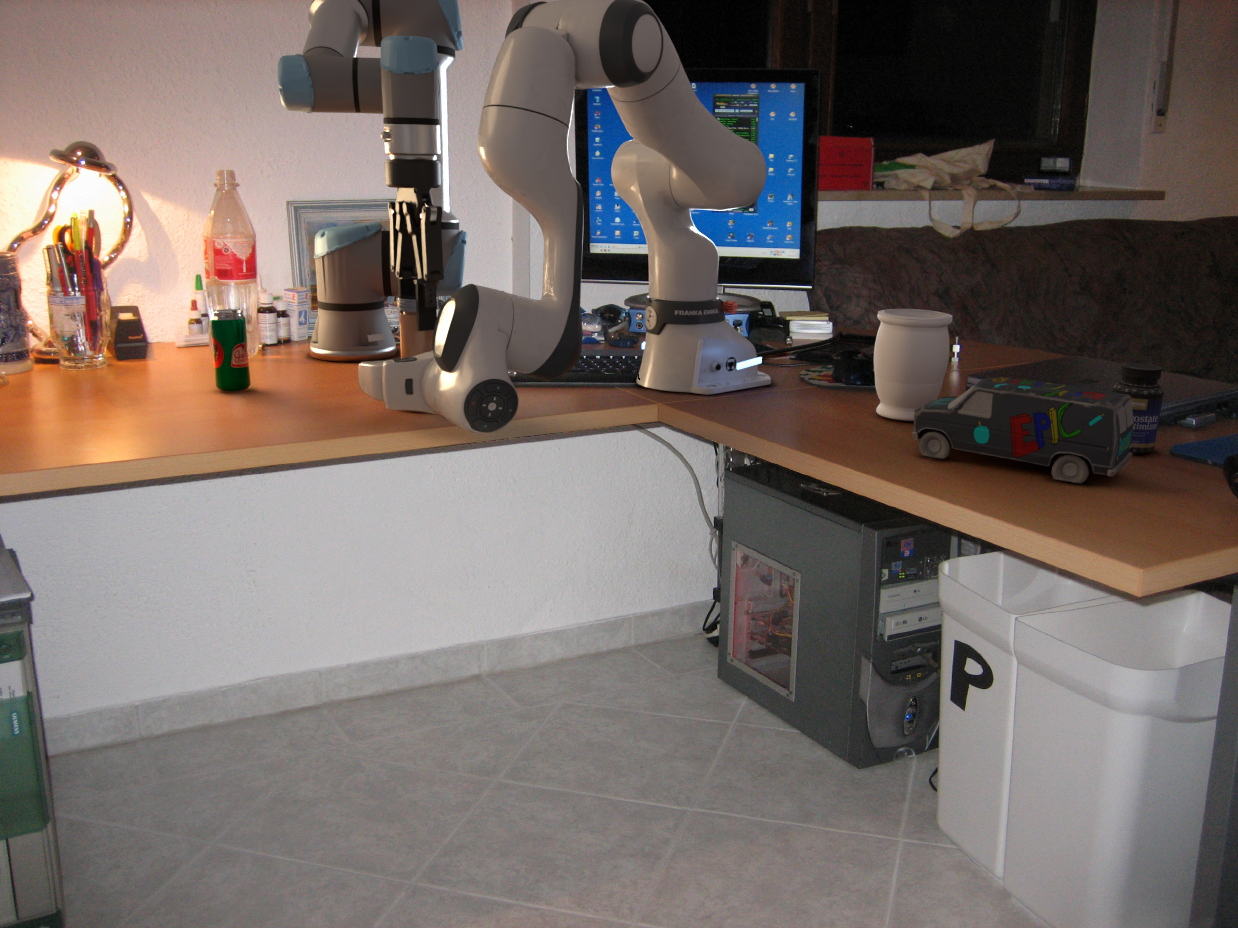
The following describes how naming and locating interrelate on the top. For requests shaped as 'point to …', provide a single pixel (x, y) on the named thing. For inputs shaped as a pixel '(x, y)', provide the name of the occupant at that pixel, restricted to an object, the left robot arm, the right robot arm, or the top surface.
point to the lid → (408, 303)
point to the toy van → (1032, 426)
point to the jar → (910, 360)
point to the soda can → (230, 350)
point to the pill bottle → (1142, 402)
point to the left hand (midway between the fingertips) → (418, 326)
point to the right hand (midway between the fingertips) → (417, 363)
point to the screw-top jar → (413, 337)
